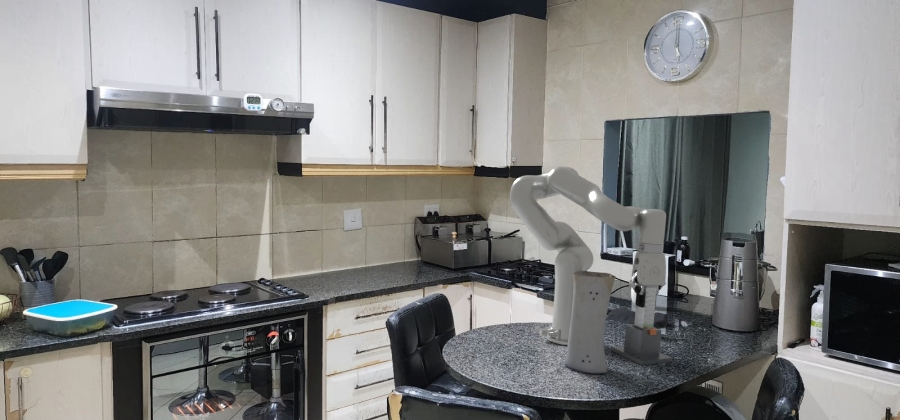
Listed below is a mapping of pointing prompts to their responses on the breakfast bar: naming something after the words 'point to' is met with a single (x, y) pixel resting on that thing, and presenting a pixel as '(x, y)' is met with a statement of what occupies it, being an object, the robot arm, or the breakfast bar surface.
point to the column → (646, 310)
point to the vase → (589, 322)
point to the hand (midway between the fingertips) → (645, 305)
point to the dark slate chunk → (629, 317)
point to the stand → (642, 346)
